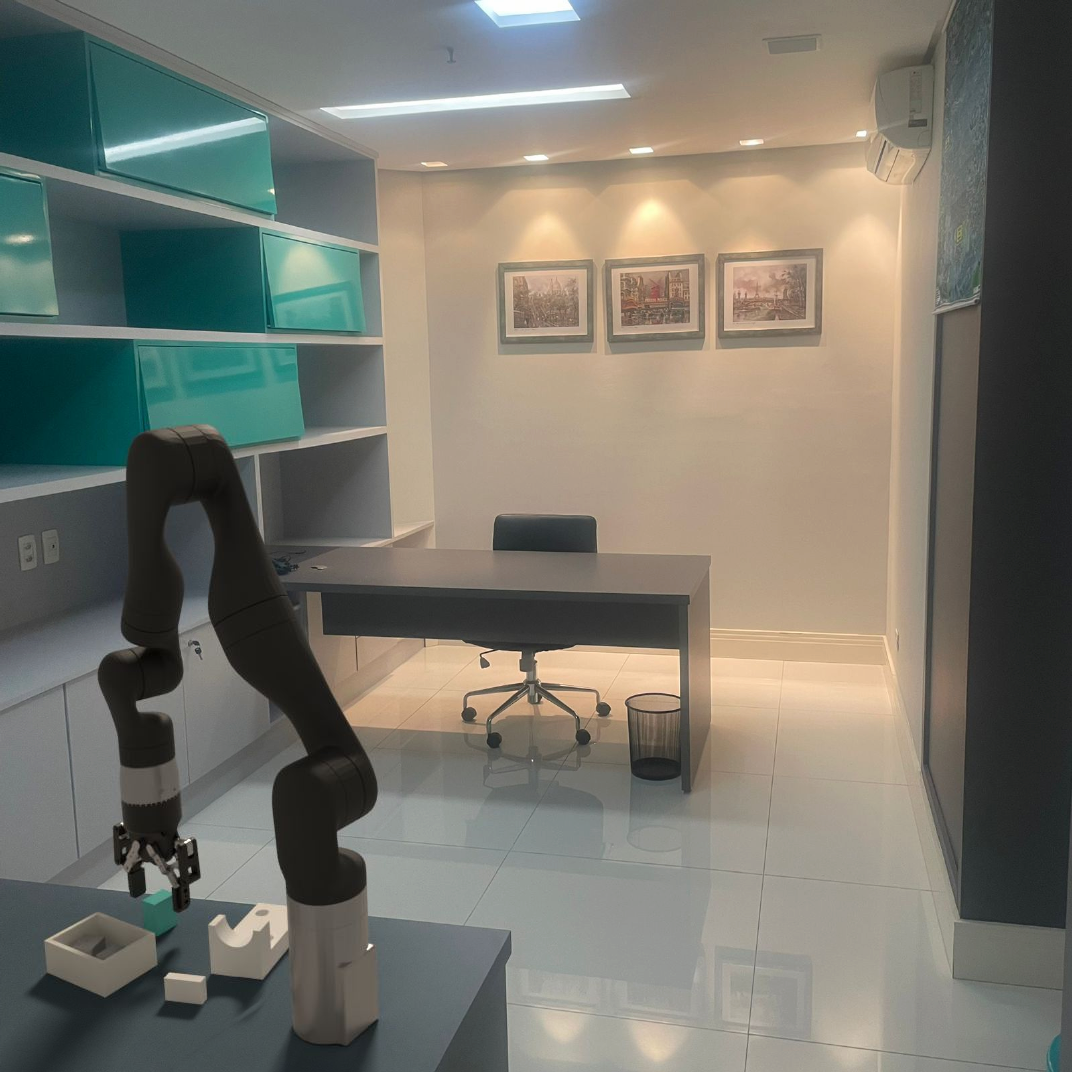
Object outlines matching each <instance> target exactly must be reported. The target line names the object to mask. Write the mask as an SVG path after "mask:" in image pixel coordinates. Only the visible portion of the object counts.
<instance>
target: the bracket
mask: <svg viewBox="0 0 1072 1072" xmlns="http://www.w3.org/2000/svg"><path fill="white" fill-rule="evenodd" d="M207 927H208V929H207V930H208V941H209V943H208V944H209V958H210V959H209V960H210V971H211V972H210V973H211V974H212V975H213V974H214V975H221V976H225V977H226V976H227V977H234V978H237V977H239V978H244V979H245V978H247V979H255V980H264V979H265V978H266V976H267V975H268V974H269V973H270V971H271V970H272V969H273V968H274V967H275V965H276V964H277V963H278V962H279V960H280V959H281V958H282V956H283V955H284V954H285V953H286V952H287V951H288V950H289V941H288V922H287V905H280V904H272V903H262V902H258V903H257V904H256V905H255V906H254V907H253V908H252V909H251V910H250V911H249V912H248V914H246V915H245V917H243V918H242V919H241V921H240V922H239V923H238V924H237V925H236V926H235V927H234V928H233V929H232V927H230V925H229V924H228V921H227V918H226V915H225V914H218V915H217V916H216V917H215V918H214V919H213V920H211V922H209V924H208V925H207Z"/></svg>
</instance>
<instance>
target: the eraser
mask: <svg viewBox="0 0 1072 1072" xmlns="http://www.w3.org/2000/svg"><path fill="white" fill-rule="evenodd" d="M163 982H164V983H163V984H164V994H165V995H164V996H165V997H164V998H165V1001H168V1002H169V1001H171V1002H178V1003H185V1004H187V1003H188V1004H192V1005H193V1004H195V1005H203V1004H204V1003H205V1002H206V1001H207V999H208V993H207V978H206V976H204V975H195V974H186V973H177V972H168V973H167V974H166V976H164V977H163Z"/></svg>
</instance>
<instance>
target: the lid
mask: <svg viewBox="0 0 1072 1072" xmlns="http://www.w3.org/2000/svg"><path fill="white" fill-rule="evenodd" d="M141 908H142V917H143V929H145V930H148V931H151V932H153V933H155V937H159V936H161V935H163V934H164V933H166V932H167V931H169V930H171V929H173V928H174V927H176V926H177V925H178V917H177V916H178V915H177V914H178V913H177V912H174V911H173V901H172V891H169V890H166V889H164V888H161V889H160V890H159V891H156V892H154V893H153V894H151V895H149V896H148V897H145V898H144V899H141Z"/></svg>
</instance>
